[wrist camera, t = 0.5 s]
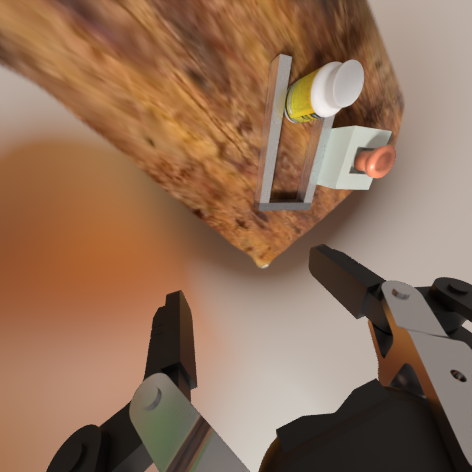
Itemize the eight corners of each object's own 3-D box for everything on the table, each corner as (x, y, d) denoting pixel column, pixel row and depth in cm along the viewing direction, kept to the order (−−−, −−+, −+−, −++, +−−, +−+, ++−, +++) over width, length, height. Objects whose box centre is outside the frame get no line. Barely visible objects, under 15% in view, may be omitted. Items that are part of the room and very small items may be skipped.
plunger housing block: (320, 130, 34) (355, 125, 28) (354, 134, 37) (393, 131, 30) (307, 181, 39) (335, 188, 32) (338, 182, 41) (370, 189, 34)
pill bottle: (284, 128, 32) (327, 119, 23) (279, 86, 29) (328, 57, 20) (312, 118, 33) (366, 106, 24) (311, 77, 30) (372, 44, 20)
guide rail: (270, 62, 27) (280, 53, 25) (332, 78, 31) (346, 71, 28) (253, 206, 38) (258, 210, 35) (301, 205, 41) (309, 209, 39)
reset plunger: (355, 144, 29) (379, 144, 26) (376, 147, 31) (400, 147, 27) (346, 174, 32) (366, 177, 28) (365, 175, 33) (387, 178, 29)
